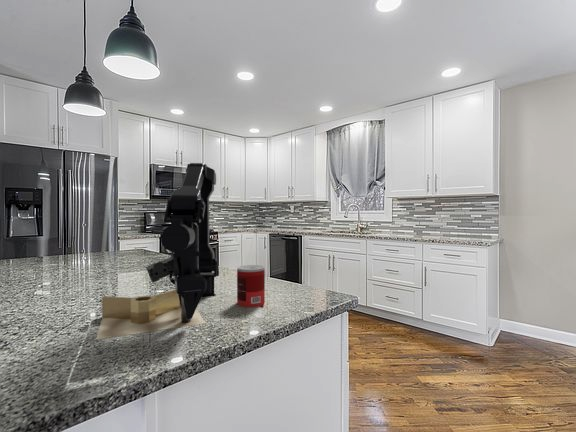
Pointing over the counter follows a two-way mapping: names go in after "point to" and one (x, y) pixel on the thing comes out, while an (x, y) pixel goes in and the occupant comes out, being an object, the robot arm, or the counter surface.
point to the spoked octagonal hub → (139, 306)
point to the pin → (183, 313)
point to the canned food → (251, 286)
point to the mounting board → (145, 324)
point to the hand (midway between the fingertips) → (186, 312)
